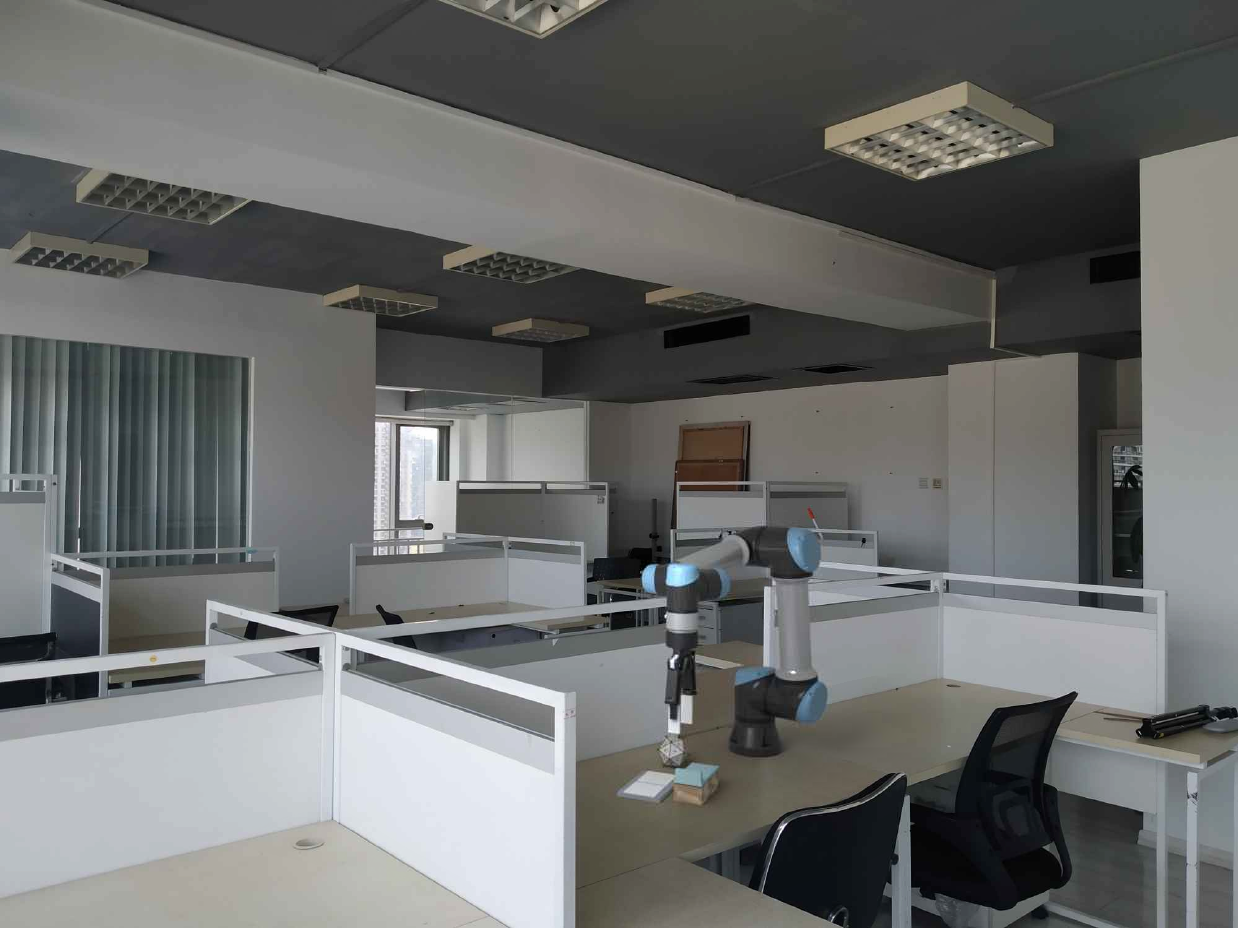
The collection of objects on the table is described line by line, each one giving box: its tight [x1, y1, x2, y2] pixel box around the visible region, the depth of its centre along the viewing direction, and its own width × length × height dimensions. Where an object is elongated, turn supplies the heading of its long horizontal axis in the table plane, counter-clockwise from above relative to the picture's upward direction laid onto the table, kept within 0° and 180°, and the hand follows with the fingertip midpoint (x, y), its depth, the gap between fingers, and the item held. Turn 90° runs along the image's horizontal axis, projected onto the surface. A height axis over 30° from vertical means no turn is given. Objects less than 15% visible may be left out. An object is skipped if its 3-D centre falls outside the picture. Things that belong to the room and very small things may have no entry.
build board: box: [616, 769, 675, 804], centre depth 224 cm, size 18×11×1 cm, turn 157°
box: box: [673, 770, 719, 806], centre depth 220 cm, size 14×7×4 cm, turn 157°
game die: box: [655, 734, 692, 769], centre depth 241 cm, size 9×8×10 cm
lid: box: [674, 762, 720, 787], centre depth 220 cm, size 14×7×3 cm, turn 157°
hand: (680, 727), depth 209 cm, fingers open, 8 cm apart
